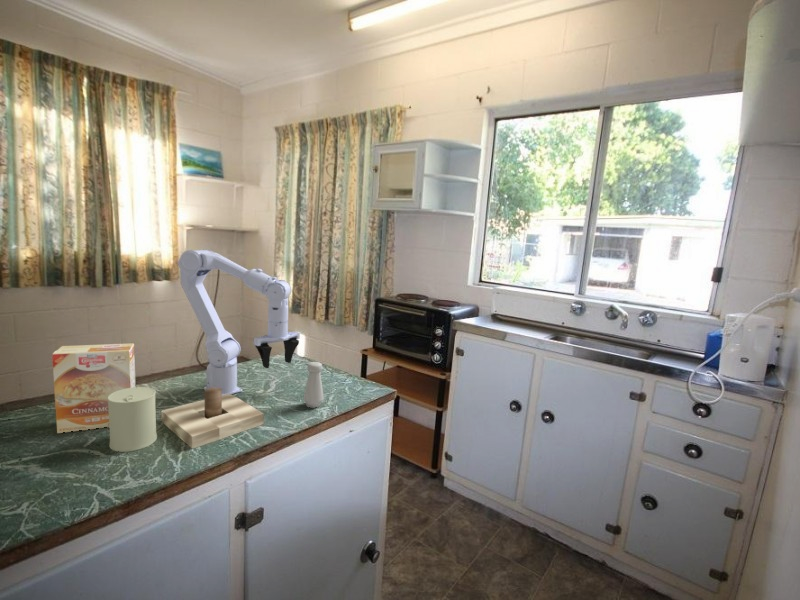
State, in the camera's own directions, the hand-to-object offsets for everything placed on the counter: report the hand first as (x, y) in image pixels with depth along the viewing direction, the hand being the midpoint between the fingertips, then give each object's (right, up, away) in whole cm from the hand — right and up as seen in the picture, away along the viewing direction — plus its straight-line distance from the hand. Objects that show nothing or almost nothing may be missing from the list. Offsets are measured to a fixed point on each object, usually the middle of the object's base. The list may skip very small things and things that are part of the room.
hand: (277, 364), depth 123 cm
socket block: (-11, -12, -18) cm, 25 cm away
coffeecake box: (-38, -11, -22) cm, 45 cm away
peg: (-11, -12, -18) cm, 25 cm away
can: (-24, -13, -29) cm, 40 cm away
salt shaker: (+12, -12, -4) cm, 17 cm away
